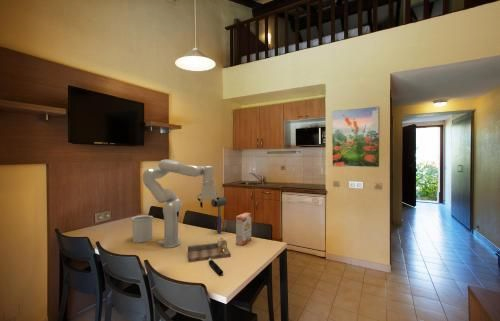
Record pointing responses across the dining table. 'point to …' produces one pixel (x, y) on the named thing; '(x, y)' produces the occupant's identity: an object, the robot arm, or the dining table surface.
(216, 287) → the dining table surface
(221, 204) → the rubber mallet
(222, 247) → the gauge
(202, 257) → the board
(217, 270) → the utility knife
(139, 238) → the utensil holder
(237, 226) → the cracker box
